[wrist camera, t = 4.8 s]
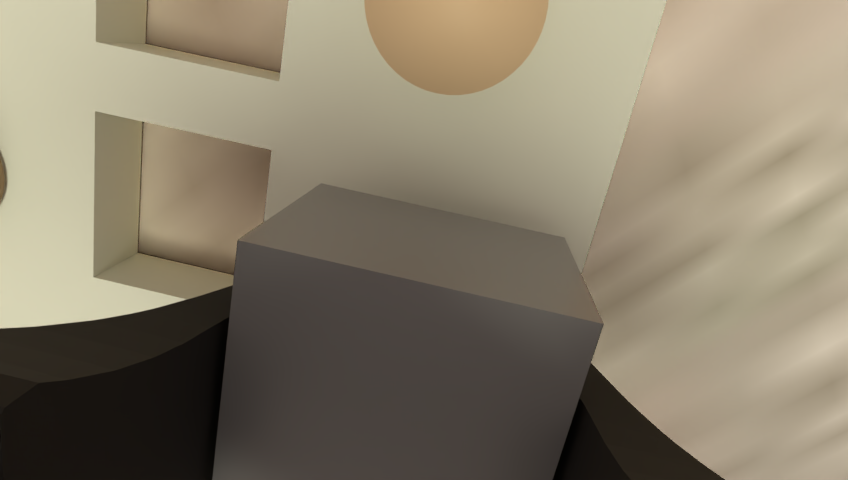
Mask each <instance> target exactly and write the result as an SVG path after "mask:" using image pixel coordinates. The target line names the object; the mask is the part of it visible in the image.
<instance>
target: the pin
mask: <svg viewBox="0 0 848 480" xmlns="http://www.w3.org/2000/svg"><path fill="white" fill-rule="evenodd" d="M3 191H4V171H3V166H2V162H1V159H0V201H1V199H2V195H3Z"/></svg>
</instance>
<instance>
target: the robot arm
mask: <svg viewBox="0 0 848 480" xmlns="http://www.w3.org/2000/svg"><path fill="white" fill-rule="evenodd" d="M232 289H233V285H232V286H229V287H226V288H223V289H220V290H216V291H213V292H210V293H207V294H204V295H201V296H198V297H194V298H191V299H187V300H183V301H180V302H176V303H172V304H169V305H165V306H162V307H158V308H154V309H150V310H146V311H141V312H136V313H132V314H126V315H121V316H115V317H110V318H104V319H98V320H91V321H82V322H73V323H64V324H55V325H46V326H35V327H19V328H0V480H212V477H213V468H214V458H215V449H216V439H217V430H218V421H219V411H220V402H221V392H222V383H223V373H224V364H225V355H226V345H227V336H228V326H229V317H230V307H231V298H232ZM553 480H725V479H723V478H722V477H720V476H719V475H717V474H716V473H714V472H713V471H712V470H710V469H709V468H707V467H706V466H705V465H703V464H702V463H700V462H699V461H698V460H697V459H695V458H694V457H693V456H691V455H690V454H689V453H687V452H686V451H685V450H683V449H682V448H681V447H680V446H678V445H677V444H676V443H674V442H673V441H672V440H671V439H670V438H668V437H667V436H666V435H665V434H664V433H662V432H661V431H660V430H659V429H658V428H657V427H656V426H654V425H653V424H652V423H651V422H650V421H649V420H648V419H647V418H646V417H644V416H643V415H642V414H641V413H640V412H639V411H638V410H637V409H636V408H635V407H634V406H633V405H632V404H631V403H630V402H628V401H627V400H626V399H625V398H624V397H623V396H622V395H621V394H620V393H619V392H618V391H617V390H616V388H615V387H614V386H613V385H612V384H611V383H610V382H609V381H608V380H607V379H606V378H605V377H604V376H603V375H602V374H601V373H600V372H599V371H598V370H597V369H596V368H595V367H594V366H593V365H592V364H590V367H589V370H588V373H587V376H586V379H585V382H584V385H583V388H582V391H581V394H580V398H579V401H578V404H577V407H576V410H575V413H574V416H573V419H572V422H571V425H570V428H569V431H568V434H567V437H566V440H565V443H564V446H563V449H562V452H561V455H560V458H559V461H558V465H557V468H556V471H555V474H554V477H553Z"/></svg>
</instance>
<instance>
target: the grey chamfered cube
mask: <svg viewBox="0 0 848 480" xmlns="http://www.w3.org/2000/svg"><path fill="white" fill-rule="evenodd" d="M602 327H603V321H602V319H601V317H600V315H599V313H598V310H597V308H596V306H595V304H594V302H593V299H592V297H591V295H590V293H589V291H588V288H587V286H586V284H585V282H584V280H583V277H582V275H581V273H580V271H579V268H578V266H577V264H576V262H575V260H574V257H573V255H572V253H571V251H570V249H569V246H568V244H567V242H566V240H565V238H564V237H560V236H555V235H551V234H546V233H542V232H537V231H533V230H528V229H524V228H519V227H515V226H510V225H506V224H501V223H497V222H492V221H488V220H483V219H479V218H475V217H470V216H466V215H461V214H457V213H452V212H448V211H443V210H439V209H434V208H430V207H425V206H421V205H416V204H412V203H407V202H403V201H398V200H394V199H389V198H385V197H380V196H376V195H371V194H367V193H362V192H358V191H353V190H349V189H344V188H340V187H336V186H331V185H327V184H322V183H321V184H319V185H318V186H316V187H315V188H313V189H312V190H310V191H309V192H307V193H306V194H305V195H303V196H302V197H300V198H299V199H297V200H296V201H294V202H293V203H291V204H290V205H288V206H287V207H285V208H284V209H283V210H281V211H280V212H278V213H277V214H275V215H274V216H272V217H271V218H269V219H268V220H266V221H265V222H263V223H262V224H261V225H259V226H258V227H256V228H255V229H253V230H252V231H250V232H249V233H247V234H246V235H244V236H243V237H241V238H240V239H238V241H237V251H236V260H235V270H234V279H233V289H232V298H231V307H230V317H229V326H228V336H227V345H226V355H225V364H224V373H223V383H222V392H221V402H220V411H219V421H218V430H217V439H216V449H215V458H214V468H213V477H212V480H553V477H554V474H555V471H556V468H557V465H558V461H559V458H560V455H561V452H562V449H563V446H564V443H565V440H566V437H567V434H568V431H569V428H570V425H571V422H572V419H573V416H574V413H575V410H576V407H577V404H578V401H579V398H580V394H581V391H582V388H583V385H584V382H585V379H586V376H587V373H588V370H589V367H590V364H591V361H592V358H593V355H594V352H595V349H596V346H597V343H598V340H599V337H600V334H601V330H602Z"/></svg>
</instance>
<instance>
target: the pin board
mask: <svg viewBox="0 0 848 480" xmlns="http://www.w3.org/2000/svg"><path fill="white" fill-rule="evenodd" d="M666 2H667V0H288V8H287V17H286V26H285V35H284V44H283V53H282V61H281V70H280V73H279V72H274V71H270V70H265V69H260V68H256V67H251V66H247V65H242V64H237V63H233V62H228V61H223V60H219V59H214V58H209V57H205V56H200V55H195V54H191V53H186V52H182V51H177V50H172V49H168V48H163V47H158V46H154V45H149V44H145V42H146V15H147V0H0V159H1V162H2V166H3V171H4V191H3V195H2V199H1V201H0V328H19V327H35V326H46V325H55V324H64V323H73V322H82V321H91V320H98V319H104V318H110V317H115V316H121V315H126V314H132V313H136V312H141V311H146V310H150V309H154V308H158V307H162V306H165V305H169V304H172V303H176V302H180V301H183V300H187V299H191V298H194V297H198V296H201V295H204V294H207V293H210V292H213V291H216V290H220V289H223V288H226V287H229V286H232V285H233V279H234V275H231V274H227V273H222V272H218V271H214V270H209V269H205V268H201V267H197V266H192V265H188V264H184V263H179V262H175V261H171V260H167V259H162V258H158V257H154V256H149V255H145V254H141V253H138V229H139V202H140V175H141V149H142V122H146V123H151V124H155V125H160V126H164V127H169V128H173V129H178V130H182V131H187V132H191V133H196V134H200V135H205V136H209V137H214V138H219V139H223V140H228V141H232V142H237V143H241V144H246V145H250V146H255V147H259V148H264V149H268V150H272V151H271V160H270V168H269V177H268V186H267V195H266V204H265V213H264V222H265V221H266V220H268V219H269V218H271V217H272V216H274V215H275V214H277V213H278V212H280V211H281V210H283V209H284V208H285V207H287V206H288V205H290V204H291V203H293V202H294V201H296V200H297V199H299V198H300V197H302V196H303V195H305V194H306V193H307V192H309V191H310V190H312V189H313V188H315V187H316V186H318V185H319V184H321V183H322V184H327V185H331V186H336V187H340V188H344V189H349V190H353V191H358V192H362V193H367V194H371V195H376V196H380V197H385V198H389V199H394V200H398V201H403V202H407V203H412V204H416V205H421V206H425V207H430V208H434V209H439V210H443V211H448V212H452V213H457V214H461V215H466V216H470V217H475V218H479V219H483V220H488V221H492V222H497V223H501V224H506V225H510V226H515V227H519V228H524V229H528V230H533V231H537V232H542V233H546V234H551V235H555V236H560V237H564V238H565V240H566V242H567V244H568V246H569V249H570V251H571V253H572V255H573V257H574V260H575V262H576V264H577V266H578V268H579V271H580V273H581V274H582V271H583V268H584V264H585V261H586V258H587V255H588V251H589V248H590V245H591V242H592V239H593V235H594V232H595V229H596V226H597V223H598V219H599V216H600V213H601V210H602V207H603V203H604V200H605V197H606V194H607V191H608V187H609V184H610V181H611V178H612V175H613V171H614V168H615V165H616V162H617V159H618V155H619V152H620V149H621V146H622V143H623V139H624V136H625V133H626V130H627V127H628V123H629V120H630V117H631V114H632V111H633V107H634V104H635V101H636V98H637V95H638V91H639V88H640V85H641V82H642V78H643V75H644V72H645V69H646V66H647V62H648V59H649V56H650V53H651V50H652V46H653V43H654V40H655V37H656V34H657V30H658V27H659V24H660V21H661V18H662V14H663V11H664V8H665V5H666Z"/></svg>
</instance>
